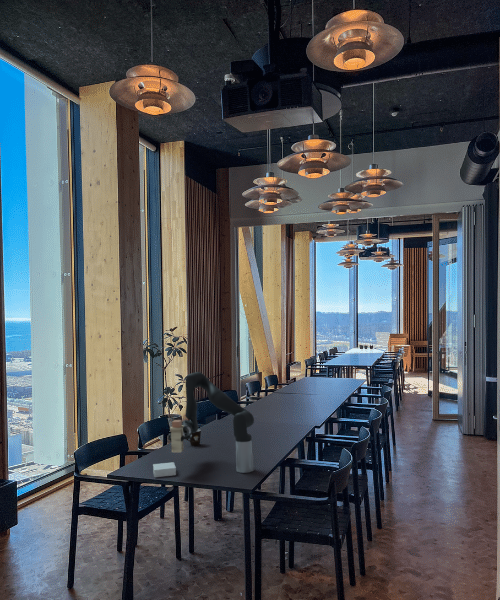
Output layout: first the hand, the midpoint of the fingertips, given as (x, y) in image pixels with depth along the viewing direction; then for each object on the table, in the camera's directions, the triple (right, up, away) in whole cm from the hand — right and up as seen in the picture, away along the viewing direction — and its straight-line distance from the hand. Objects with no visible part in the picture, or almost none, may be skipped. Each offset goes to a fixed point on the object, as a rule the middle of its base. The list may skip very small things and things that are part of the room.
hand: (176, 439), depth 279 cm
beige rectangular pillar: (0, -7, +2) cm, 8 cm away
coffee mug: (+2, -23, +68) cm, 72 cm away
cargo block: (0, +7, +3) cm, 7 cm away
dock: (-7, -20, +3) cm, 22 cm away
